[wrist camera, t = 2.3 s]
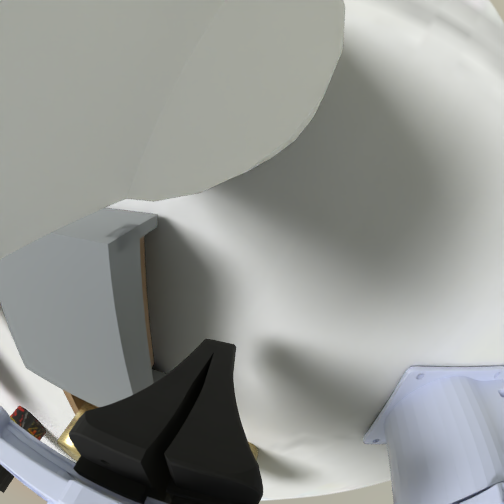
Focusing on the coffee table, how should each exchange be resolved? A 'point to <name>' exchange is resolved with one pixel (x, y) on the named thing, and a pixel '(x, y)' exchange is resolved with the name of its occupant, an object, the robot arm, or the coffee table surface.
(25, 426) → the deodorant
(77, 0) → the base with upright slab
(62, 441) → the placed peg
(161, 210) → the coffee table surface
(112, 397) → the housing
